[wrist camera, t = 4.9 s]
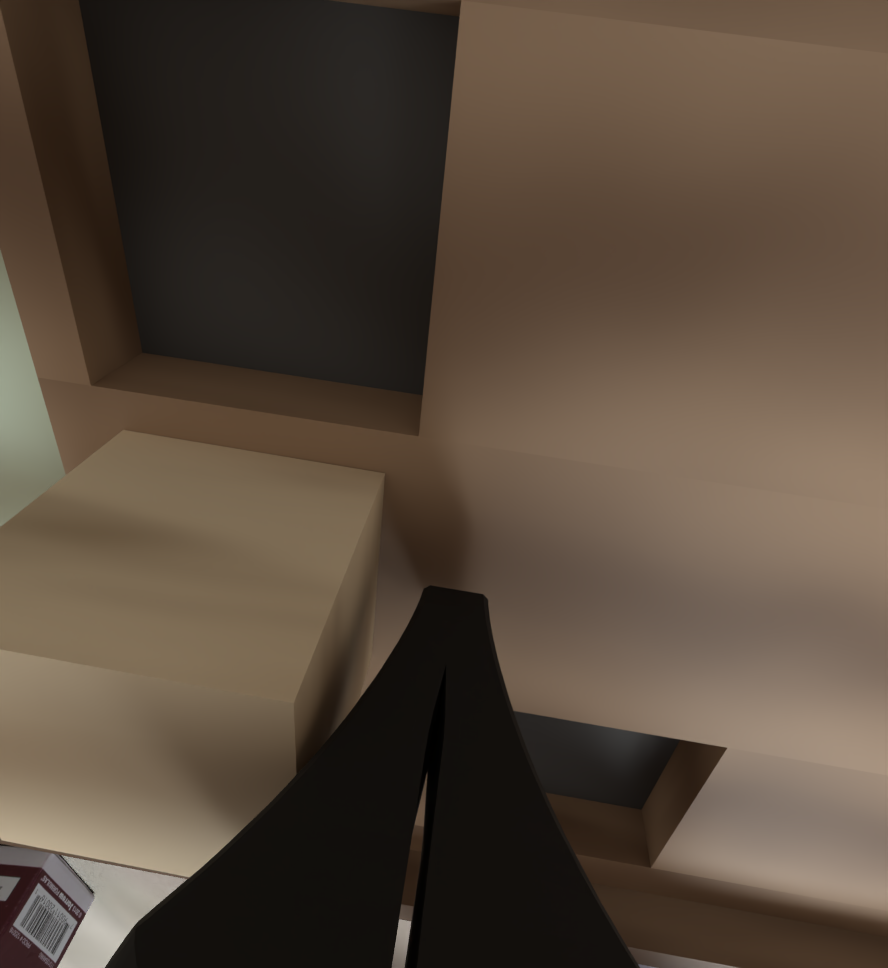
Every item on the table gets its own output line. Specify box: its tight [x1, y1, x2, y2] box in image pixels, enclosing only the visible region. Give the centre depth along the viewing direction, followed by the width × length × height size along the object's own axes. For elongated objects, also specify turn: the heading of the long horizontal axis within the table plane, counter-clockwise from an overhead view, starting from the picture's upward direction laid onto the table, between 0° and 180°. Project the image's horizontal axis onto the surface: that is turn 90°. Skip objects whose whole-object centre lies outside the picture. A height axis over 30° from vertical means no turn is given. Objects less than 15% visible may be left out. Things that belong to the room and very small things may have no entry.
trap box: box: [0, 0, 888, 968], centre depth 12 cm, size 24×32×4 cm
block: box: [0, 430, 385, 877], centre depth 10 cm, size 5×5×5 cm
